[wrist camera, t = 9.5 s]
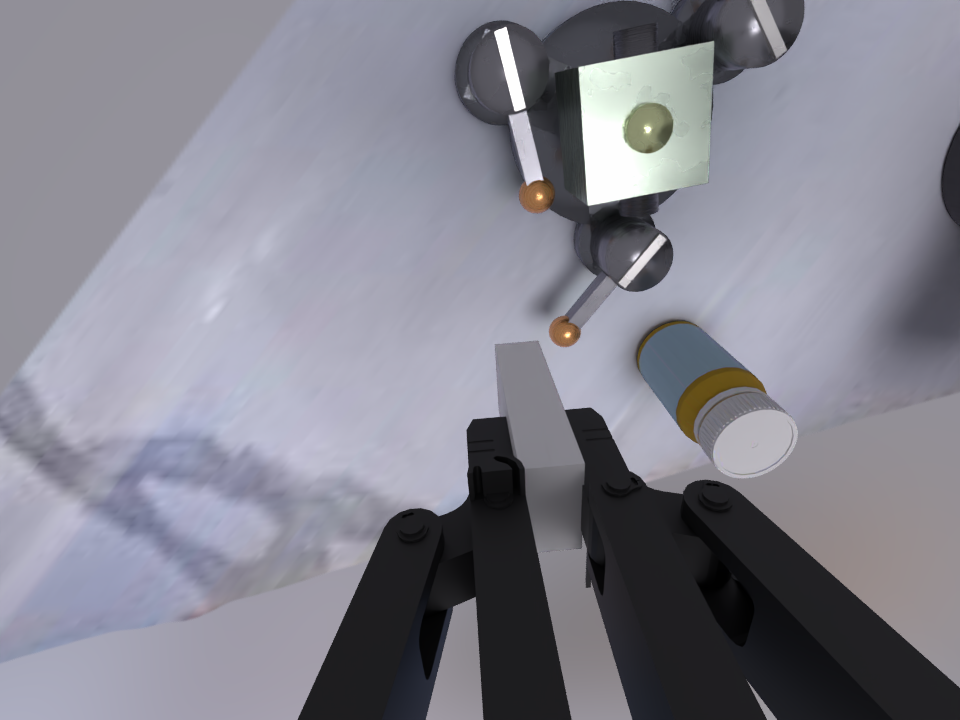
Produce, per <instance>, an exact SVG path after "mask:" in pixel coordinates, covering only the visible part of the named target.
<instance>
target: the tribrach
mask: <svg viewBox="0 0 960 720" xmlns="http://www.w3.org/2000/svg"><path fill="white" fill-rule="evenodd" d="M704 1H705V0H680V2H679V3H678V4H677V5H676V7H675V9H674V10H673V12H672V14H670V13H668V12H666V11H665V10H663V9H660V8H658V7H655V6H653V5H650V4H646V3H641V2H637V1H617V2H608V3H605V4H601V5H597V6H594V7H591V8H589V9H587V10H585V11H582V12H580V13H579V14H577V15H575V16H574V17H572V18H570V19H569V20H567V21H566V22H564V23H563V24H561V25H560V26H558V27H557V28H556V29H555V30H554V31H552V32H551V33H550V34H549V35H548V36H547V37H546V38H545V39H544V40H543V41H542V44H543V45H544V47H545V50H546V52H547V56H548V61H549V76H548V81H547V85H546V87H545V90H544V92H543V94H542V95H541V97H540V98H539V100H538V101H537V102H536V103H535V104H534V105H533V106H532V107H531V108H529V109H528V110H526V111H527V115H528V119H529V123H530V127H531V131H532V135H533V139H534V144H535V148H536V152H537V156H538V160H539V164H540V168H541V172H542V176H543V177H546V178H547V179H549V180H550V181H551V183H552V184H553V186H554V189H555V199H554V202H553V204H552V205H551V207H550V209H551V210H553V211H554V212H556V213H557V214H559V215H561V216H563V217H565V218H567V219H569V220H572V221H575V222H578V224H577V226H576V229H575V233H574V246H575V250H576V253H577V255H578V257H579V259H580V260H581V261H582V262H583V264H584V265H585V266H586V267H587V268H588V269H589V270H590V271H591V272H592V273H593V274H595V275H597V276H598V275H599V273H600V272H601V271H603V270H602V269H601V268H600V267H599V266H598V265H597V263H596V262H595V261H594V260H593V258H592V256H591V252H590V240H591V236H592V233H593V231H594V230H595V228H596V227H597V225H598V224H599V223H600V222H601V221H602V220H604V219H605V218H607V217H608V216H611V215H613V214H617V213H620V215H621V216H624V217H638V218H639V219H641V220H643V221H644V222H646V223H648V224H649V225H651V226H653V227H654V228H655V225H654V222H653V220H652V218H651V216H650V215H651V214H654V213H656V212H658V206H659V205H660V204H662V203H663V202H664V201H665V200H667V199H668V198H669V197H670V196H671V195H672V194H673V193H674V192H675V191H676V190H677V189H679V188H685V187H690V186H695V185H701V184H706V183H708V177H709V154H710V131H711V119H712V110H713V88H712V85H714V84H720V83H724V82H726V81H729V80H730V79H732V78H734V77H736V76H737V75H738V74H740V73H741V72H742V71H743V70H744V69H739V70H729V71H719V72H713V61H714V41H711V42H706V43H701V44H695V45H690V46H688V31H689V27H690V23H691V20H692V18H693V16H694V14H695V12H696V11H697V9H698V8H699V6H700V5H701V4H702V3H703V2H704ZM506 24H516V23H513V22H509V21H493V22H490V23H487V24H484V25H482V26H481V27H479V28H477V29H476V30H475V31H474V32H473V33H472V34H471V35H470V36H469V37H468V38H467V39H466V41H465V42H464V44H463V46H462V48H461V50H460V52H459V55H458V58H457V62H456V67H455V83H456V88H457V92H458V95H459V97H460V99H461V101H462V103H463V105H464V106H465V107H466V109H467V110H468V111H469V112H470V113H471V114H472V115H473V116H475V117H476V118H478V119H480V120H482V121H484V122H486V123H489V124H494V125H507V124H509V123H508V120H507V116H506V115H504V114H499V113H495V112H491V111H489V110H487V109H485V108H483V107H482V106H481V105H480V104H478V102H477V101H476V100H475V99H474V97H473V96H472V94H471V92H470V89H469V86H468V81H467V68H468V63H469V60H470V57H471V55H472V53H473V51H474V50H475V48H476V46H477V45H478V43H479V42H480V40H481V39H482V38H483V37H484V36H485V35H486V34H487V33H488V32H489V31H491V30H492V29H494V28H496V27H498V26H501V25H506ZM516 25H518V24H516ZM510 140H511V146H512V151H513V155H514V158H515V161H516V164H517V167H518V169H519V171H520V173H521V169H520V165H519V161H518V158H517V154H516V150H515V146H514V142H513V139H512V135H511V131H510ZM521 175H522V173H521ZM603 272H604V271H603Z"/></svg>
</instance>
